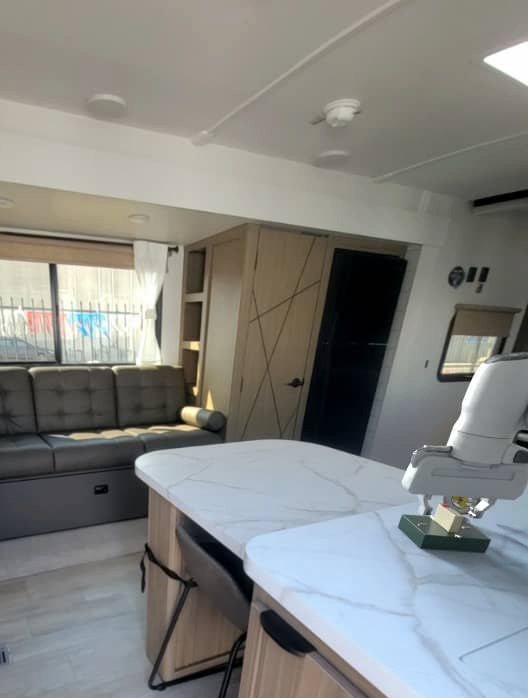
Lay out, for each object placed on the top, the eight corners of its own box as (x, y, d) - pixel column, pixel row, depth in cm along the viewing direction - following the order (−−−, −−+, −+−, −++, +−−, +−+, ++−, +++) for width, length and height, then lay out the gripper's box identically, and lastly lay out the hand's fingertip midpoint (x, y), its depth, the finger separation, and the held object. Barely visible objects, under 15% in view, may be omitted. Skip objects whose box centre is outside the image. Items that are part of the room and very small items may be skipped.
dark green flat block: (455, 530, 86) (460, 516, 84) (486, 554, 77) (493, 539, 75) (396, 526, 86) (401, 512, 85) (420, 549, 78) (426, 534, 76)
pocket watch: (439, 526, 87) (457, 482, 83) (425, 510, 95) (440, 469, 90) (482, 531, 86) (502, 487, 81) (464, 515, 93) (482, 474, 89)
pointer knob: (457, 532, 78) (464, 515, 76) (448, 532, 78) (455, 514, 76) (440, 520, 83) (447, 503, 81) (432, 519, 83) (438, 502, 81)
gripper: (426, 449, 71) (401, 519, 77) (549, 456, 70) (514, 526, 76) (408, 439, 77) (387, 505, 83) (521, 445, 76) (491, 512, 82)
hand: (448, 515), depth 80 cm, fingers open, 8 cm apart
